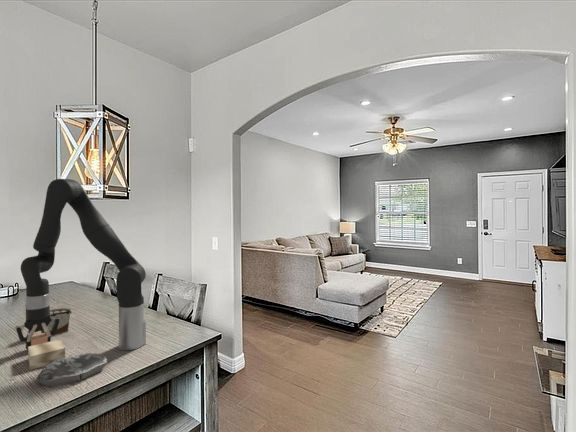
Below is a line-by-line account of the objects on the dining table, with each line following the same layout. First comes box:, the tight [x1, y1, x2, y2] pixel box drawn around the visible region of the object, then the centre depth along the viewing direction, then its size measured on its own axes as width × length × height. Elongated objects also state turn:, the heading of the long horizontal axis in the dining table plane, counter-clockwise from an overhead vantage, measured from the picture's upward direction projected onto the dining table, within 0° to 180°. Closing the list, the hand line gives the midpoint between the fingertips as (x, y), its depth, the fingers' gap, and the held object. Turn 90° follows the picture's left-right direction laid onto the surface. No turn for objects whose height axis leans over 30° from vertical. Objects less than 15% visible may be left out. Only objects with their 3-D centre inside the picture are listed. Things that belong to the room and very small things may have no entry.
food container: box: [40, 307, 73, 337], centre depth 139 cm, size 12×6×10 cm, turn 141°
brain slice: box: [37, 352, 108, 388], centre depth 107 cm, size 20×17×3 cm
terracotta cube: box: [30, 333, 48, 346], centre depth 124 cm, size 5×5×5 cm
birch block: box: [27, 338, 66, 370], centre depth 116 cm, size 10×10×5 cm
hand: (38, 347), depth 124 cm, fingers closed on terracotta cube, 5 cm apart
